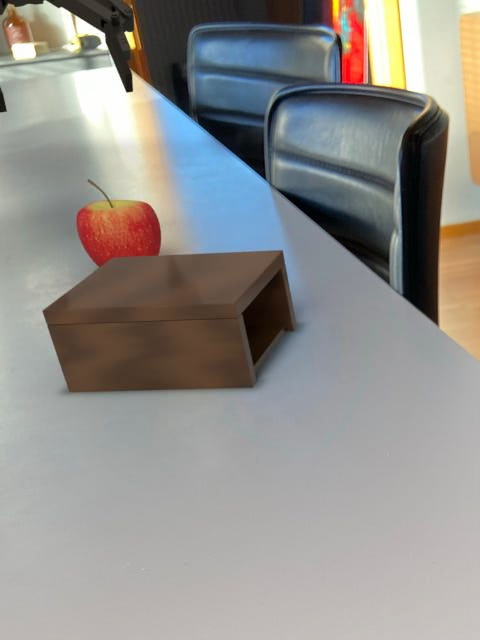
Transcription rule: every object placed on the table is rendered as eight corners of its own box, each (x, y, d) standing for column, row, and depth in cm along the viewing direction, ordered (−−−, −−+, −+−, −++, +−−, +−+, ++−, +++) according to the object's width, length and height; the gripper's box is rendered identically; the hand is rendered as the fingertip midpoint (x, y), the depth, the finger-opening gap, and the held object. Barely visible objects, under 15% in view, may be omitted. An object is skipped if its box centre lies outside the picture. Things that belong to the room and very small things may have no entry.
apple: (90, 270, 114) (62, 175, 108) (167, 257, 116) (143, 163, 110) (93, 290, 108) (63, 190, 102) (174, 276, 110) (149, 177, 104)
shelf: (69, 393, 85) (41, 310, 81) (133, 333, 96) (112, 257, 92) (253, 388, 83) (234, 303, 78) (297, 327, 94) (282, 249, 90)
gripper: (113, -58, 119) (179, 99, 117) (-115, -33, 111) (-48, 136, 109) (109, -116, 112) (179, 50, 110) (-135, -94, 104) (-64, 85, 102)
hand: (66, 93), depth 110 cm, fingers open, 13 cm apart
